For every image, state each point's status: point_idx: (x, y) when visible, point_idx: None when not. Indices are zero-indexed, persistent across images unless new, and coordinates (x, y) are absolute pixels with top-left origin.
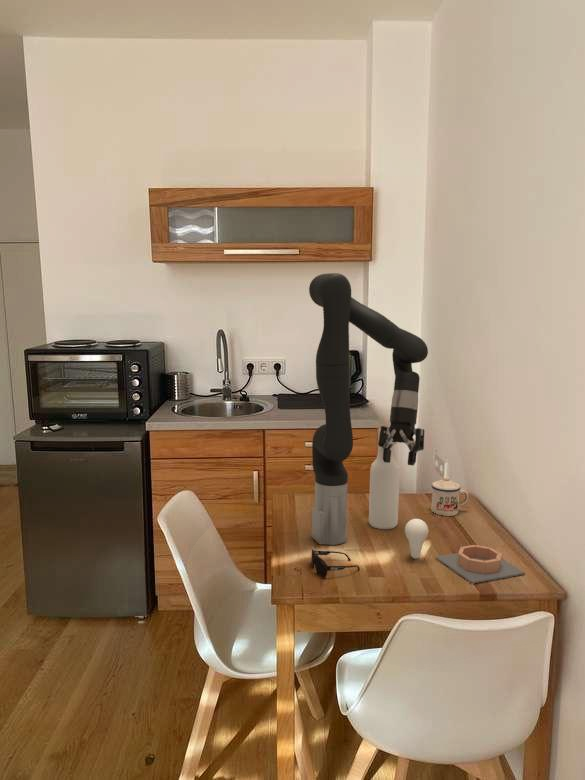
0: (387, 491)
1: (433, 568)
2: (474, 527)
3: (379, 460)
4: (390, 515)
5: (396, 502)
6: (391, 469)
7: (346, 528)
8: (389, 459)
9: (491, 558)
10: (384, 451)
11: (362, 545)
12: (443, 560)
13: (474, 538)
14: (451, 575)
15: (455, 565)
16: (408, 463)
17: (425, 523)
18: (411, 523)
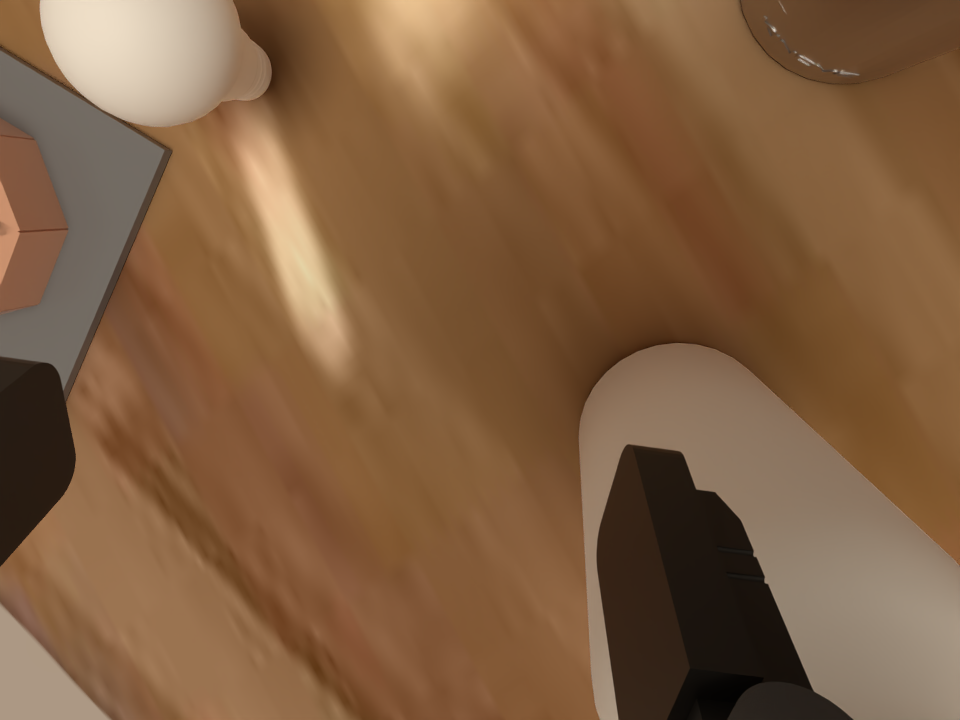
0: None
1: None
2: (246, 681)
3: (902, 695)
4: (598, 408)
5: (583, 497)
6: None
7: (774, 8)
8: (607, 575)
9: None
10: (762, 650)
11: (607, 27)
12: (108, 130)
13: (173, 543)
14: (3, 3)
15: (31, 111)
16: (16, 363)
17: (56, 58)
18: None
